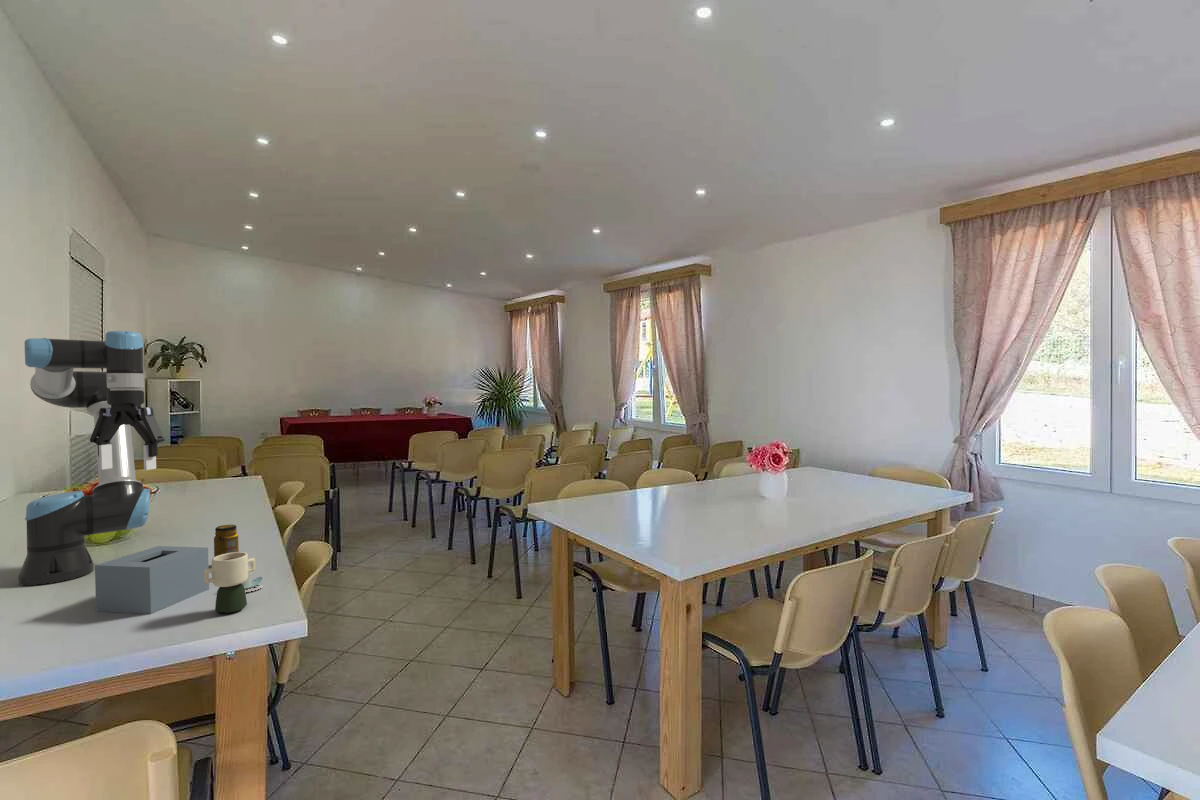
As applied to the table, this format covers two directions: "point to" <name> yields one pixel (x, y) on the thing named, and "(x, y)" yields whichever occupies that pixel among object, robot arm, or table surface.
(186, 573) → the box
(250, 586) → the pacifier
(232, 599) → the character mug
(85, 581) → the table surface
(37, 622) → the table surface
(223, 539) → the condiment
